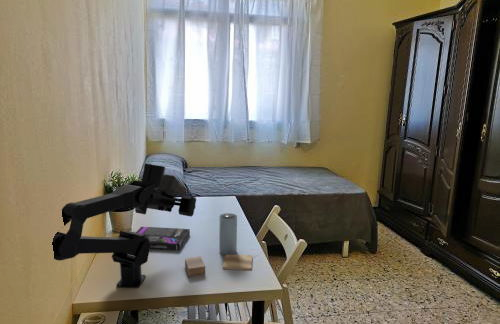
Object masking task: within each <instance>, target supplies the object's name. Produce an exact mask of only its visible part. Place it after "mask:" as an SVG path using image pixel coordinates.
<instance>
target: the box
mask: <svg viewBox="0 0 500 324" xmlns="http://www.w3.org/2000/svg"><path fill="white" fill-rule="evenodd" d="M190 230H191V229H190V228H189V229H188V228H176V227H175V228H173V227H159V226H158V227H152V226H140V227H139V228H138V230H136V231H135V233H140V234H144V235H145V237H147V238H148V239H149V243H150V250H157V251H175V252H176V251H182V248H183V247H184V246H185V244H186V242H187V241H188V240H189V238H190V235H191V231H190Z"/></svg>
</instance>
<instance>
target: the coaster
mask: <svg viewBox="0 0 500 324" xmlns="http://www.w3.org/2000/svg"><path fill="white" fill-rule="evenodd" d="M252 267H253V255H252V254H234V255H224V260H223V265H222V269H223V270H247V271H249V270H252Z"/></svg>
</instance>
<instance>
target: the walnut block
mask: <svg viewBox="0 0 500 324" xmlns="http://www.w3.org/2000/svg"><path fill="white" fill-rule="evenodd" d="M184 268H185V271H186V273H187V276H188V278H192V277H199V276H205V275H206V265H205V262H204V261H203V259H202V257H201V256H195V257H194V256H193V257H188V258H187V257H186V258H184Z"/></svg>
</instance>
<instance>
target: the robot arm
mask: <svg viewBox="0 0 500 324" xmlns="http://www.w3.org/2000/svg"><path fill="white" fill-rule="evenodd" d="M165 171H166V166H163V165H158V164H157V165H156V164H152V163H144V166H143V173H142V176H141V177H142V178H141V180H136V179H134V180H132V181H131V182H129V183H128V184H124V185H120V186H118V187H117V188H115V190H114V191H113V192H110V193H108V194H103V195H99V196H95V197H91V198H88V199H83V200H80V201H76V202H74V201H73V202H68V203H66V204H65V205H64V206H63V207H62V208H61V210H62V217H63V222H64V227H65V226H66V225H67V224H69V223H70V225H69V229H68V230H67V232H65V233H64V232H61V231H58V232H57V233H56V234H55V236H54V238H53V242H52V245H53V251H54V259H53V260H56V261H58V262H59V261H65V260H70V259H74V258H75V257H77V256H78V255H81V254H112V255H111V259H112V261H113V262H114V263H119V269H120V271H119V272H120V279H119V281H118V282H117V283H116V287H118V288H140V286H141V285H142V283H143V282H144V280H145V278H146V274H143V273H142V266H143V265H144V264H145V263H147V262H148V259H149V255H150V251H151V249H150V243H149V239H148V238H147V237H145V235H144V234H140V233H136V231H130V230H126V231H123V230H119V233H118V234H119V235H118V236H115V237H114V236H86V235H85V236H83V234H82V233H83V231H84V230H83V229H84V228H83V227H84V224H85V222H86V220H87V219H89V218H93V217H97V216H99V215H103V214H106V213H109V212H112V211H115V210H119V209H134V212H135V213H137V214H140V215H146V214H147V210H148V209H150V210H157V211H162V212H163V211H164V212H167V213H168V212H169V213H171V212H172V210H173V208H174V207H175V206H178V214H179V215H181V216H186V217H192V216H194V213H195V209H196V203H197V198H196V197H195V196H191V195H186V194H185V195H184V194H183V195H181V197H180V198H179V197H178V198H177V193H175V192H176V189H177V188H178V185H179V184H180V180H178V179H177V177H176V176H175V175H171V174H165Z"/></svg>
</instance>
